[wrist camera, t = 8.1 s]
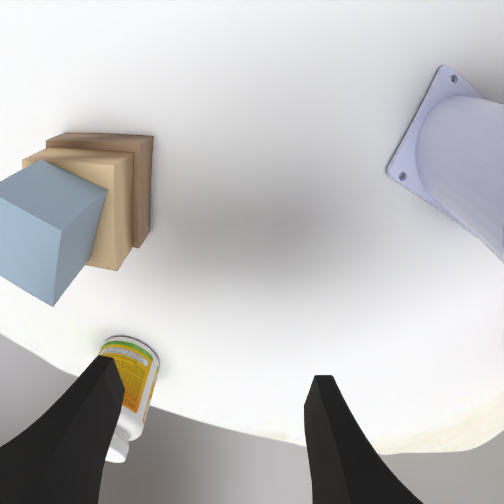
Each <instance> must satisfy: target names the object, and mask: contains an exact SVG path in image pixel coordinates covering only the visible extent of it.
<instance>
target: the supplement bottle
mask: <svg viewBox="0 0 504 504" xmlns="http://www.w3.org/2000/svg"><path fill="white" fill-rule="evenodd" d="M99 355H102V356H108V357H113V358H114V361H115V364H116V366H117V369H118V372H119V374H120V377H121V380H122V382H123V385H124V387H125V394H124V399H123V404H122V408H121V413H120V416H119V419H118V422H117V425H116V428H115V431H114V434H113V437H112V440H111V443H110V446H109V449H108V452H107V456H106V459H105V460H106V461H110V462H116V463H120V462H124V461H125V460H126V456H127V452H128V450H129V443H128V442H127V441H131V440H134V439H136V438H138V437H139V436H140V435H141V433H142V430H143V427H144V424H145V419H146V415H147V411H148V408H149V404H150V400H151V397H152V393H153V390H154V386H155V383H156V379H157V375H158V371H159V361H158V358H157V357H156V355H155V354H154V353H153V351H152V350H151V349H149V348H148V347H147V346H145V345H144V344H142V343H141V342H139V341H137V340H134V339H131V338H127V337H113V338H110V339H108V340H107V341H106V342H105V343H104V344H103V346H102V348H101V350H100V352H99Z"/></svg>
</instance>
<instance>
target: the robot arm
mask: <svg viewBox="0 0 504 504" xmlns="http://www.w3.org/2000/svg"><path fill="white" fill-rule="evenodd" d="M452 75H453V76H454V82H452V81H451V76H452ZM402 172H404V177H403V178H401V179H399V175H400V173H402ZM387 175H388V176H389V177H390V178H391V179H392V180H394V181H395V182H397V183H399V184H400V185H402V186H403V187H405V188H407V189H408V190H410V191H411V192H413V193H414V194H416V195H417V196H419V197H421V198H422V199H424V200H425V201H427V202H428V203H430V204H431V205H433V206H434V207H436V208H437V209H438V210H440V211H441V212H443V213H444V214H446V215H447V216H448V217H450V218H451V219H453V220H454V221H456V222H457V223H458V224H460V225H461V226H462V227H464V228H465V229H466V230H468V231H469V232H470V233H472V234H473V235H474V236H476V237H478V238H479V239H480V240H481V241H482V242H483V243H484V244H485V245H486V246H487V247H488V248H489V249H490V250H491V251H492V252H493V253H494V254H495V255H496V256H497V257H498V258H499V259H500V260H501V261H502V262H503V263H504V104H500V103H496V102H492V101H488V100H486V99H485V98H484V97H483V96H482V95H481V94H480V93H479V92H478V91H477V90H476V89H475V88H474V87H473V86H472V85H471V84H469V83H468V82H467V81H466V80H465V79H464V78H463V77H462V76H461V75H459V74H458V73H457V72H456V71H455V70H454V69H453V68H451V67H450V66H447V65H443V66H441V67H440V68H439V70H438V72H437V74H436V76H435V78H434V80H433V82H432V84H431V86H430V88H429V90H428V92H427V94H426V96H425V98H424V100H423V102H422V104H421V106H420V108H419V110H418V112H417V114H416V116H415V118H414V120H413V122H412V123H411V125H410V127H409V129H408V131H407V133H406V135H405V137H404V138H403V140H402V142H401V144H400V146H399V148H398V149H397V151H396V153H395V155H394V157H393V158H392V160H391V162H390V164H389V165H388V167H387ZM124 394H125V387H124V385H123V382H122V380H121V377H120V374H119V372H118V369H117V366H116V364H115V361H114V358H113V357H108V356H102V355H98V356H97V357H96V358H95V359H94V360H93V362H92V363H91V364H90V365H89V366H88V367H87V368H86V370H85V371H84V372H83V373H82V374H81V375H80V376H79V378H78V379H77V380H76V381H75V382H74V383H73V384H72V385H71V386H70V388H69V389H68V390H67V391H66V392H65V393H64V394H63V395H62V396H61V397H60V398H59V399H58V400H57V401H56V402H55V404H53V405H52V406H51V407H50V408H49V409H48V410H47V411H46V412H45V413H44V414H43V415H42V416H41V417H40V418H39V419H38V420H36V421H35V422H34V423H33V424H32V425H31V426H29V427H28V428H27V429H26V430H24V431H23V432H22V433H20V434H19V435H18V436H16V437H15V438H14V439H12V440H11V441H10V442H8V443H6V444H4V445H3V446H1V447H0V504H98V498H99V490H100V483H101V477H102V471H103V466H104V463H105V459H106V456H107V452H108V449H109V446H110V443H111V440H112V437H113V434H114V431H115V428H116V425H117V422H118V419H119V416H120V413H121V408H122V404H123V399H124ZM304 427H305V437H306V444H307V451H308V458H309V465H310V472H311V479H312V494H313V504H423V503H422V502H421V501H420V500H419V499H418V498H416V497H415V496H414V495H413V494H412V493H411V492H410V491H409V490H408V489H407V488H406V487H405V486H404V485H403V484H402V483H401V482H400V481H399V480H398V478H397V477H396V476H395V475H394V474H393V473H392V472H391V470H390V469H389V468H388V467H387V466H386V464H385V463H384V462H383V461H382V460H381V458H380V457H379V455H378V454H377V453H376V451H375V450H374V448H373V447H372V445H371V444H370V442H369V441H368V439H367V438H366V436H365V435H364V433H363V432H362V430H361V428H360V427H359V425H358V423H357V422H356V420H355V418H354V417H353V415H352V413H351V411H350V409H349V407H348V406H347V404H346V402H345V400H344V398H343V396H342V394H341V392H340V390H339V388H338V386H337V384H336V382H335V379H334V377H333V376H332V375H315V376H314V379H313V382H312V385H311V388H310V390H309V393H308V396H307V399H306V402H305V404H304Z"/></svg>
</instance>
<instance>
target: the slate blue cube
mask: <svg viewBox="0 0 504 504" xmlns="http://www.w3.org/2000/svg"><path fill="white" fill-rule="evenodd" d="M107 191H108V190H106V189H104V188H102V187H100V186H97V185H95V184H93V183H91V182H89V181H87V180H85V179H82V178H80V177H78V176H76V175H74V174H72V173H70V172H67V171H65V170H63V169H61V168H59V167H57V166H55V165H52V164H50V163H48V162H46V161H44V160H40V161H38V162H36V163H34V164H32V165H30V166H28V167H26V168H24V169H22V170H20V171H19V172H17V173H15V174H13V175H11V176H10V177H8V178H6V179H4V180H3V181H1V182H0V275H1V276H2V277H4V278H5V279H7V280H8V281H10V282H11V283H13V284H15V285H16V286H18V287H20V288H21V289H23V290H24V291H26V292H28V293H30V294H31V295H33V296H35V297H36V298H38V299H40V300H42V301H43V302H45V303H47V304H49V305H50V306H52V307H54V305H55V304H56V302H57V301H58V300H59V298H60V297H61V296H62V294H63V293H64V291H65V290H66V289H67V287H68V286H69V285H70V283H71V282H72V281H73V280H74V278H75V277H76V276H77V274H78V273H79V272H80V271H81V269H82V268H83V267H84V265H85V264H86V263H87V262H88V260H89V259H90V258H91V253H92V248H93V244H94V240H95V236H96V232H97V228H98V224H99V220H100V216H101V212H102V208H103V205H104V201H105V198H106V194H107Z"/></svg>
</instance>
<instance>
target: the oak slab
mask: <svg viewBox="0 0 504 504" xmlns="http://www.w3.org/2000/svg"><path fill="white" fill-rule="evenodd" d="M40 160H44V161H46V162H48V163H50V164H52V165H55V166H57V167H59V168H61V169H63V170H65V171H67V172H70V173H72V174H74V175H76V176H78V177H80V178H82V179H85V180H87V181H89V182H91V183H93V184H95V185H97V186H100V187H102V188H104V189H106V190H108V191H107V194H106V198H105V201H104V205H103V208H102V212H101V216H100V220H99V224H98V228H97V232H96V236H95V240H94V244H93V248H92V253H91V258H90V259H89V260H88V262H87V263H86V264H85V265H88V266H93V267H98V268H103V269H108V270H114V271H118V269H119V267H120V266H121V264H122V263H123V261H124V260H125V258H126V257H127V255H128V254H129V252H130V250H131V249H132V247H133V234H132V194H133V162H134V153H133V152H121V151H108V150H93V149H74V148H46V149H44V150H42V151H40V152H38V153H36V154H33V155H31V156H29V157H27V158H25V159H23V160H22V167H23V169H24V168H26V167H28V166H30V165H32V164H34V163H36V162H38V161H40Z"/></svg>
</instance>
